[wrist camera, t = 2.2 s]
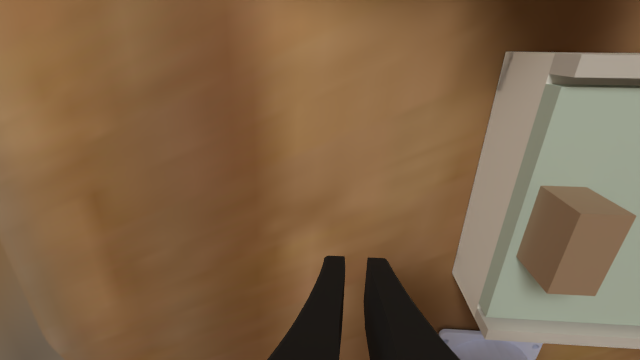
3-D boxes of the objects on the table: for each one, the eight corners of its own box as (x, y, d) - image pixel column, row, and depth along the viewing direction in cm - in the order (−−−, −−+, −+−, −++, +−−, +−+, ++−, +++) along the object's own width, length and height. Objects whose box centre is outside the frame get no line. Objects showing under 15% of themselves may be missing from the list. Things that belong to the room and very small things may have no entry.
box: (652, 282, 21) (748, 355, 16) (451, 272, 22) (484, 339, 17) (790, 54, 15) (1011, 59, 10) (505, 51, 16) (582, 54, 11)
